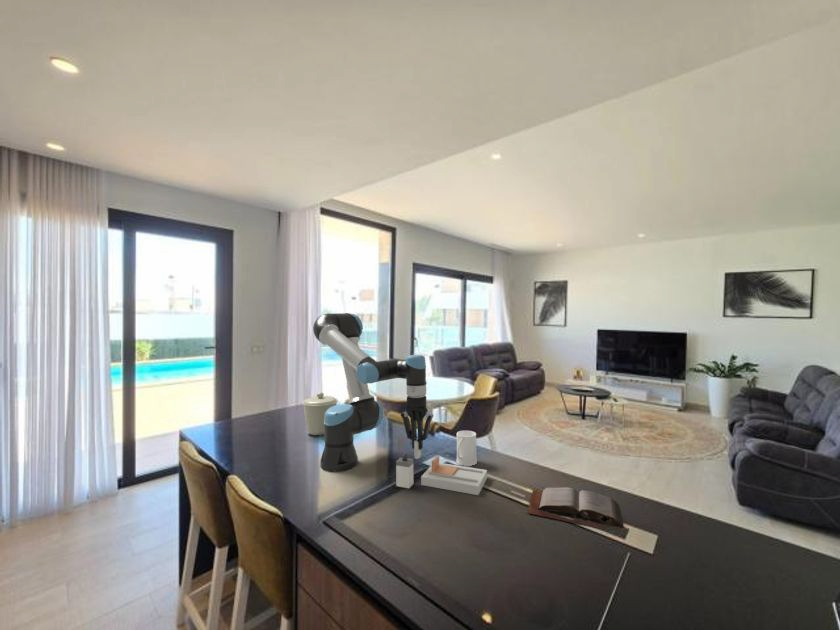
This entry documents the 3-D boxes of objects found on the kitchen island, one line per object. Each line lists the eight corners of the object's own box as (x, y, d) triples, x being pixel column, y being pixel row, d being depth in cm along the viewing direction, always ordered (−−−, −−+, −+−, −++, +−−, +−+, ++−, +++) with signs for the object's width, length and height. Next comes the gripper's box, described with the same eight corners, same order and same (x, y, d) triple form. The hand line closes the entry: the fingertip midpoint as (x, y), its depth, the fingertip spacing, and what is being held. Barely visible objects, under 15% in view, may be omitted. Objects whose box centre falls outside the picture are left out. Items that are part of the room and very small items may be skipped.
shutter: (431, 473, 136) (430, 461, 136) (437, 466, 142) (437, 455, 142) (451, 476, 133) (451, 465, 133) (457, 469, 139) (457, 458, 139)
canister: (333, 438, 184) (333, 396, 184) (297, 438, 184) (297, 396, 184) (341, 427, 202) (341, 388, 202) (308, 427, 202) (308, 388, 202)
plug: (396, 486, 133) (396, 455, 132) (401, 481, 136) (400, 451, 136) (409, 488, 131) (408, 457, 131) (413, 483, 134) (413, 453, 134)
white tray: (421, 484, 133) (421, 474, 133) (434, 469, 146) (434, 460, 146) (478, 495, 125) (478, 484, 125) (487, 478, 138) (487, 468, 138)
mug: (465, 471, 145) (464, 440, 144) (447, 465, 150) (447, 436, 150) (480, 461, 154) (480, 432, 153) (463, 456, 159) (463, 428, 159)
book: (631, 538, 102) (631, 522, 102) (526, 515, 113) (527, 500, 113) (622, 507, 121) (622, 494, 121) (533, 490, 132) (533, 477, 132)
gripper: (396, 396, 140) (398, 458, 140) (428, 398, 135) (430, 463, 135) (405, 392, 147) (406, 451, 147) (435, 394, 142) (437, 455, 142)
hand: (417, 457), depth 141 cm, fingers closed
